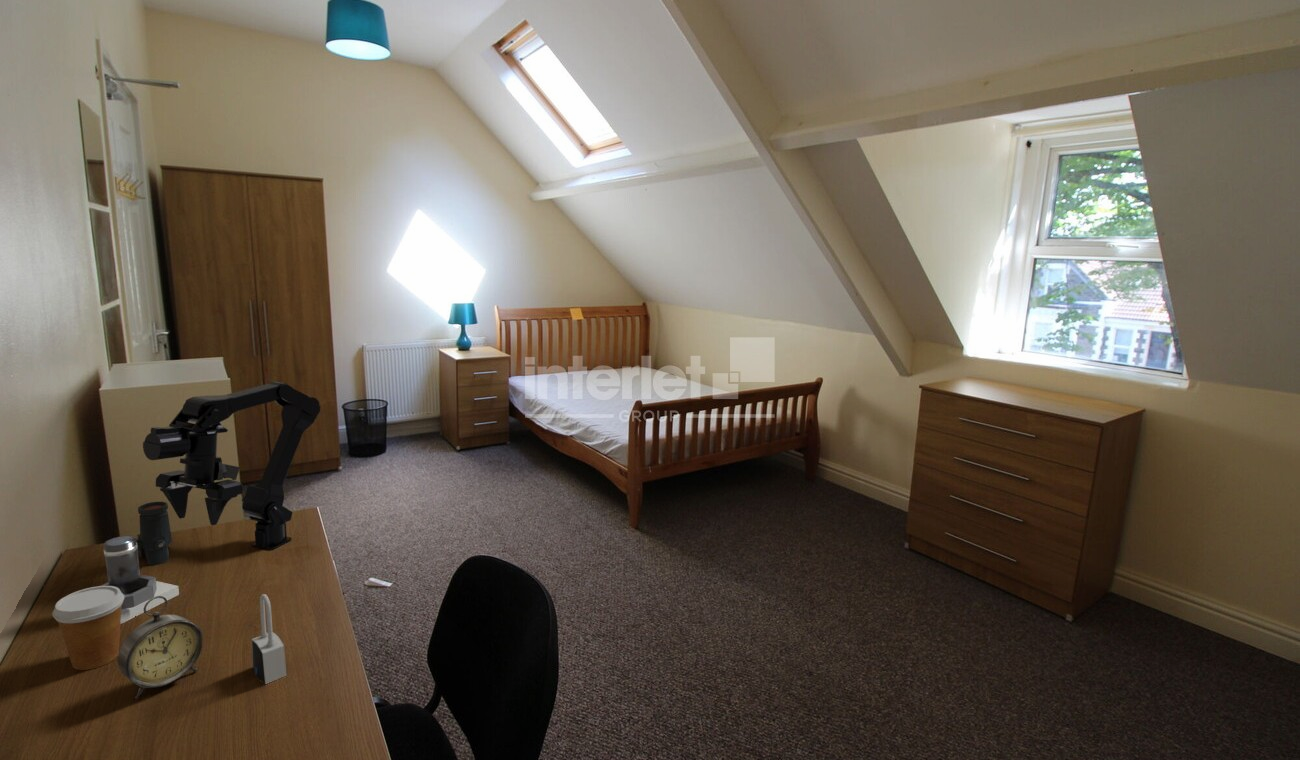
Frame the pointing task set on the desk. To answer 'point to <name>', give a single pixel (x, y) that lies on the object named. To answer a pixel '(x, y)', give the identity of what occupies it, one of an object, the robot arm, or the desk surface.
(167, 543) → the scope
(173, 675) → the alarm clock
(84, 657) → the disposable coffee cup
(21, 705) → the desk surface
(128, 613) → the octagonal ring on plate
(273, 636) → the padlock
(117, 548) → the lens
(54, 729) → the desk surface
